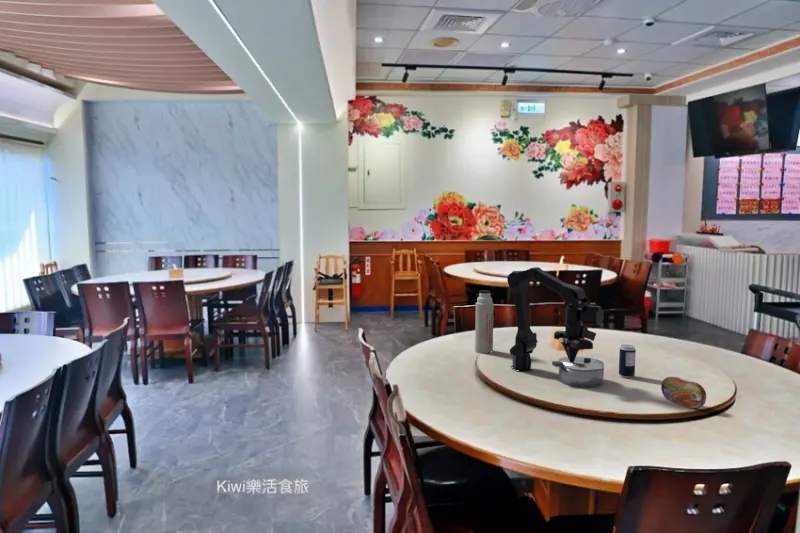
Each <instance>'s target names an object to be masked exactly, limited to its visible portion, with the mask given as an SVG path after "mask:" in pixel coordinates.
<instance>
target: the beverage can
mask: <svg viewBox="0 0 800 533" xmlns="http://www.w3.org/2000/svg"><path fill="white" fill-rule="evenodd" d="M636 354H637V353H636V348H635V346H634V345H633V344H621V345H620V347H619V356H618V357H619V359H618V360H619V361H618V375H620V377H622V378H625V379H632V378H633V377H634V376H635V374H636V372H635V371H636Z"/></svg>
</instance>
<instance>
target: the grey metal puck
mask: <svg viewBox="0 0 800 533" xmlns="http://www.w3.org/2000/svg"><path fill="white" fill-rule="evenodd" d="M604 372H605V367H604V368H603V369H600V370H594V371H583V370H575V369H570V368H566V367H563V366H562V367H558V379H559V380H558V382H559V383H561V382H562V384H564V385H567V386H569V387H575V388H582V389H583V388H585V389H592V388H599V387H602V386H603V385H604V376H605V375H604Z"/></svg>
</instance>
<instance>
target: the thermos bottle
mask: <svg viewBox="0 0 800 533" xmlns="http://www.w3.org/2000/svg"><path fill="white" fill-rule="evenodd" d="M478 292H479V295H478V296H477V299H476V300H477V302H475V325H474V327H475V328H474V329H475V334H474V335H475V337H474V345H475V346H474V351H475V353H479V354H488V353H487V352H491V351H494V302H493V298H492V297H491V291H490V290H488V289H487V290H485V289H483V290H478Z"/></svg>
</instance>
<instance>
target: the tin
mask: <svg viewBox="0 0 800 533" xmlns="http://www.w3.org/2000/svg"><path fill="white" fill-rule="evenodd" d="M660 388H661V393H662V395H663V397H664V398H665V399H666V400H667V401H669V402H671V403H674V404H676V405H680V406H682V407H685V408H689V409H693V410H694V409H698V408H701V407H703V406H704V405H705V403H706V402H707V392H706V390H705V388H704V386H702V385H701V384H699V383H698V382H696V381H693V380H692V381H691V380H689V379H685V378H681V377H678V376H667V377H665V378H664V379H663V380H662V382H661V385H660Z"/></svg>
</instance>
